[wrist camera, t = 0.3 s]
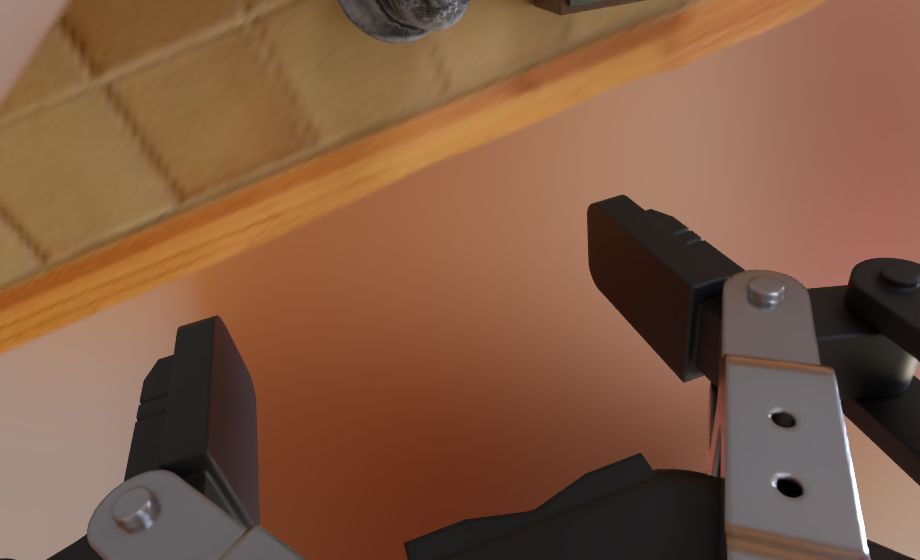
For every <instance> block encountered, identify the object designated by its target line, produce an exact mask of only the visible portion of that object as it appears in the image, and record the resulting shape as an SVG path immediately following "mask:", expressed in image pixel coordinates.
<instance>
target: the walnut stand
mask: <svg viewBox="0 0 920 560" xmlns="http://www.w3.org/2000/svg"><path fill="white" fill-rule="evenodd" d="M638 1H643V0H535V7H538V8H541V9H544V10H547V11H550V12H553V13H556V14H559V15H565V14H571V13H577V12H582V11H588V10H593V9H599V8H604V7H610V6H616V5H621V4H627V3H632V2H638Z"/></svg>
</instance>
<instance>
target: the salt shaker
mask: <svg viewBox="0 0 920 560" xmlns="http://www.w3.org/2000/svg"><path fill="white" fill-rule="evenodd" d="M469 1H470V0H338V2H339V4H340V5H341V7H342V9H343V11H344V12H345V14H346V16H347V17H348V18H349V19H350V20H351V21H352V22H353V23H354V24H355V25H356V26H357V27H358V28H359V29H360V30H361V31H363V32H364V33H366V34H368V35H369V36H371V37H373V38H375V39H378V40H381V41H385V42H389V43H407V42H410V41H414V40H417V39H420V38H422V37H424V36H426V35H427V34H429V33H430V32H432V31H439V30H443V29H446V28H449V27H450V26H452V25H454V24H455V23H457V22H458V21H459V19H460V18H461V17H462V16H463V15H464V13H465V11H466V9H467V8H468V5H469Z"/></svg>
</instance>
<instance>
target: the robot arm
mask: <svg viewBox="0 0 920 560" xmlns="http://www.w3.org/2000/svg"><path fill="white" fill-rule="evenodd" d="M587 225H588V226H587V227H588V256H589V257H588V258H589V268H590V272H591V276H592V278H593V280H594V283H595V284H596V286H597V288H598V289H599V290H600V291H601V292H602V293H603V295H605V297H606V298H607V299H608V300H609V301H610V302H611V303H612V304H613V306H614V307H615V308H616V309H617V310H618V311H619V312H620V313H621V314H622V315H623V316H624V318H625V319H626V320H627V321H628V322H629V323H630V324H631V325H632V326H633V328H634V329H635V330H636V331H637V332H638V333H639V334H640V335H641V336H642V337H643V339H644V340H645V341H646V342H647V343H648V344H649V345H650V346H651V347H652V348H653V350H654V351H655V352H656V353H657V354H658V355H659V356H660V357H661V358H662V359H663V361H664V362H665V363H666V364H667V365H668V366H669V367H670V368H671V369H672V370H673V371H674V373H675V374H676V375H677V376H678V377H679V378H680V379H681V380H682V381H683V382H684V383H685V382H687V381H690V380H693V379H695V378H698V377H701V376H704V375H705V376H706V377H707V378H708V379H709V380H710V381H711V384H710V391H709V414H708V415H709V416H708V442H707V469H706V474H705V473H700V472H695V471H689V470H679V469H678V470H677V469H657V470H652V468H651V467H650V465H649V464H648V463H647V461H646V460H645V458H644V457H643V455H642V454H641V453H639V454H636V455H634V456H631V457H628V458H626V459H623V460H621V461H618V462H616V463H613V464H611V465H607V466H605V467H602V468H600V469H597V470H594V471H592V472H589V473H586V474H584V475H583V476H582V477H580V478H579V479H578V480H576V481H575V482H573V483H572V484H571V485H569V486H568V487H566V488H565V489H564V490H562V491H561V492H559V493H558V494H556V495H555V496H554V497H552V498H551V499H549V500H548V501H547V502H545V503H544V504H542V505H541V506H539V507H538V508H536V509H534V510H531V511H527V512H521V513H513V514H505V515H497V516H489V517H482V518H474V519H467V520H463V521H460V522H458V523H455V524H452V525H450V526H447V527H444V528H442V529H439V530H437V531H434V532H431V533H429V534H426V535H424V536H421V537H418V538H416V539H413V540H410V541H408V542H405V543H404V546H405V550H406V553H407V558H408V560H915V559H913V558H910V557H908V556H906V555H903V554H901V553H899V552H896V551H894V550H891V549H889V548H887V547H884V546H882V545H880V544H877V543H875V542H872V541H870V540H868V539H866V535H865V530H864V524H863V519H862V514H861V509H860V503H859V498H858V493H857V487H856V481H855V476H854V471H853V465H852V460H851V455H850V449H849V444H848V439H847V433H846V428H845V423H844V417H843V414H844V415H845V416H846V417H847V418H848V419H849V420H851V421H852V422H853V423H854V424H855V425H856V426H857V427H858V428H859V429H860V430H861V431H862V432H863V433H864V434H865V435H866V436H868V437H869V438H870V439H871V440H872V441H873V442H874V443H875V444H876V445H877V446H878V447H879V448H880V449H881V450H882V451H883V452H884V453H885V454H887V455H888V456H889V457H890V458H891V459H892V460H893V461H894V462H895V463H896V464H897V465H898V466H899V467H900V468H901V469H902V470H903V471H905V472H906V473H907V474H908V475H909V476H910V477H911V478H912V479H913V480H914V481H915V482H916V483H917V484H918V485H920V380H919V379H918V378H916V377H915V376H914V372H915V370H916V367H917V365H918V363H919V362H920V264H918V263H915V262H911V261H907V260H903V259H896V258H874V259H869V260H865V261H863V262H860V263H859V264H857V265H856V266H855V267H854V268H853V270H852V272H851V276H850V279H849V282H848V285H845V286H833V287H822V288H811V289H806V288H805V287H804V286H803V284H801V283H800V282H799V281H797V280H796V279H794V278H792V277H790V276H788V275H785V274H782V273H779V272H775V271H769V270H748V271H745V270H744V269H743V268H741V267H740V266H738V265H737V264H736V263H734V262H733V261H732V260H730V259H729V258H728V257H726V256H725V255H724V254H722V253H721V252H720V251H718V250H717V249H716V248H714V247H713V246H712V245H710V244H709V243H708V242H706V241H705V240H704V241H702V239H701V237H700V236H698V235H697V234H695V233H694V232H693V231H689V228H687V227H686V226H685V225H683V224H682V223H681V222H679V221H678V220H677V219H675V218H674V217H672V216H669V215H666V214H664V213H661V212H658V211H655V210H652V209H649V210H646V211H645V210H644V209H642V208H641V207H640V206H638V205H637V204H636V203H635V202H633V201H632V200H631V199H629V198H628V197H627V196H625V195H619V196H616V197H612V198H609V199H606V200H603V201H599V202H596V203H593V204H591V205H590V206H589V207H588V211H587ZM140 403H141V405H139V408H138V413H137V422H136V423H135V428H134V433H133V438H132V443H131V448H130V453H129V458H128V463H127V468H126V473H125V478H124V482H123V483H122V484H120V485H119V486H118V487H116V488H115V489H114V490H113V491H111V492H110V493H109V494H108V495H107V496H106V497H105V498H104V499H103V500H102V501H101V503H100V504H99V505H98V507H97V508H96V509H95V511H94V513H93V515H92V517H91V519H90V521H89V524H88V529H87V534H86V535H85V536H84V537H82V538H81V539H79V540H78V541H76V542H75V543H73V544H71V545H70V546H68V547H67V548H65V549H63V550H62V551H60V552H58V553H57V554H55V555H53V556H52V557H50V558H48V559H47V560H306V559H305V558H304V557H302V556H301V555H300V554H298V553H297V552H296V551H294V550H293V549H292V548H290V547H288V545H286V544H285V543H284V542H282V541H281V540H279V539H278V538H277V537H275V536H274V535H273V534H271V533H270V532H269V531H267V530H266V529H264V528H262V527H261V526H260V512H259V483H258V482H259V481H258V451H257V417H256V396H255V390H254V386H253V383H252V380H251V377H250V374H249V372H248V370H247V368H246V366H245V364H244V362H243V360H242V358H241V356H240V354H239V352H238V350H237V348H236V346H235V344H234V342H233V340H232V338H231V336H230V334H229V332H228V330H227V328H226V326H225V324H224V322H223V321H222V319H221V318H220V317H219V316H213V317H210V318H207V319H203V320H200V321H197V322H194V323H191V324H187V325H184V326H180V327H179V328H178V330H177V336H176V343H175V350H174V355H171V356H168V357H165V358H162V359H159V360H158V361H157V362H156V364H155V365H154V367H153V368H152V370H151V371H150V373H149V374H148V375H147V377H146V378H145V380H144V382H143V387H142V393H141V397H140ZM0 560H14V559H8V558H6V559H0Z"/></svg>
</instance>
